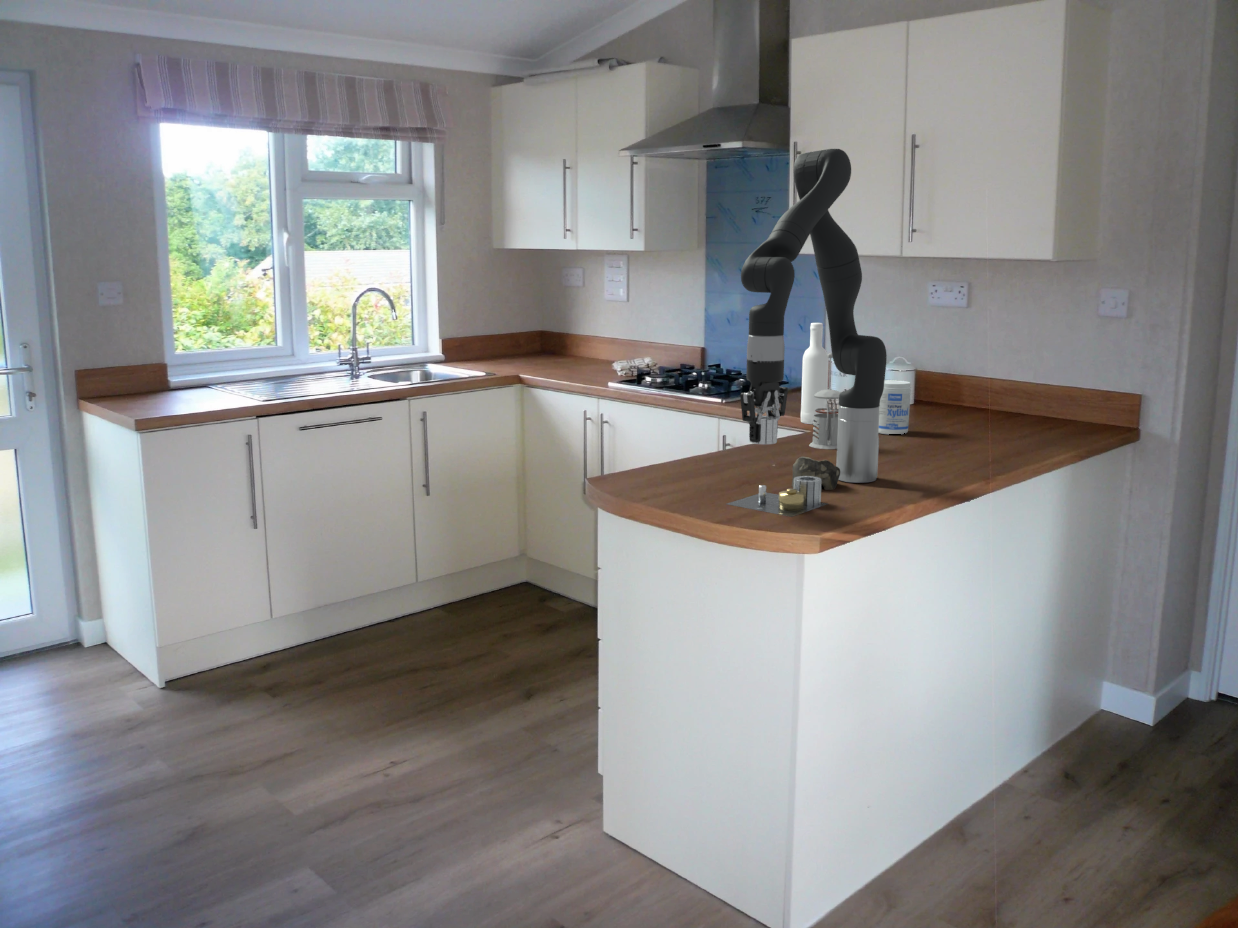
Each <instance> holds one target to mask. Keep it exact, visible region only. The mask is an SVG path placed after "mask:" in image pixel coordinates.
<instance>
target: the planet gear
mask: <svg viewBox="0 0 1238 928" xmlns="http://www.w3.org/2000/svg"><path fill="white" fill-rule="evenodd" d="M755 416H756V417H757V415H755ZM777 423H778V424H779V420H778V418H777V417H774V416H767V415H762V419H761V422H760V424H761V439H760V442H757V443H756V442H751V441H750V440H749V443H751V444H755V445H774V444H777V442H778V432H777V430H778V429H777V428H778V427H777Z"/></svg>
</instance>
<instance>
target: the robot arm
mask: <svg viewBox="0 0 1238 928" xmlns="http://www.w3.org/2000/svg"><path fill="white" fill-rule="evenodd" d="M851 176H852V164H851V160H850V157H849V156H848V154H847V153H846V151H844V150H843V149H840V148H828V149H827V148H826V149H823V150H822V149H821V150H814V151H810V152H803V153H801V154H799V155H798V156H797V157H796V158H795V161H794V163H793V179H794V184H795V188H796V192H797V196H798V199H799V200H798V201H797V202H795V203H794V204H793V205H792V206H790V207H789V208H788V210H786V211H784V213H783V214H782V215H781V216H780V218H779V219H778V221H777V222H776V224H775V226H774V227H773V229H772V231H771V233H770V234H769V236H768V238H766V240H764V241H763V242H762V243H761V244H760V245H759V246H758V247H757V248H756V249H754V250H753V251H752V253H751V254H749V256H748V257H747V258H746V259H745V261H744V263H743V265H742V268H741V271H740V282H741V284H742V286H743V287H744V288H745V290H747V291H749V292H751V293H761V294H762V293H766V294H767V293H769V297H768V300H767V301H766V303H762V304H757V305H754V306H752V307H751V308H750V309H749V313H748V314H749V315H748V336H747V337H748V338H747V345H746V377H745V379H746V380H747V381H748V382H750V387H749V390H748V391H747V392H741V393H740V395H739V396H740V406H741V418H742V421H743V422H747V423H748V424H749V431H748V432H749V433H748V436H749V442H750V441H751V442H756V443H757V442H760V439H761V424H760V422H761V419H762V416H764V414H765V416H774V417H777V418H778V421H779V420H780V419H781V417H784V416H785V414H786V407H787V401H788V393H789V388H788V387H787V386H780V383H781V382H782V381H784V379H785V378H784V377H785V376H784V375H785V351H786V350H785V347H786V346H785V316H786V315H785V314H786V311H787V307H788V302H789V299H790V295H791V292H792V289H793V286H794V282H795V273H796V272H795V268H794V265H793V263H792V262H793V261H795V260H796V259H797V257H798V256H799V254H800V253H801V251H802V249H803V247H804V246H805V244H806V242H807V240H808V238H809V236H810V241H811V245H812V247H813V253H814V258H815V264H816V269H817V274H818V279H819V282H820V283H819V284H820V287H821V290H822V294H823V299H824V300H823V301H824V305H825V311H826V315H827V321H828V322H827V323H828V329H829V330H828V331H829V339H830V340H829V341H830V348H831V353H832V357H833V358H832V360H833V364H834V365H835V366H834V367H836V369H837V370H838V371H839V372H840V373H842V374H844V375H849V376H854V383H853V385H852V387H851V388H849V389H846V390H843V391H840V392H841V393H840V395H839V399H838V407H837V409H838V413H837V414H838V435H837V449H836V460H835V461H836V462H835V463H836V464H835V466H836V467H838V468H839V469H840V476H839V479H838V481H841V482H846V483H857V484H858V483H860V484H861V483H862V484H863V483H864V484H865V483H871V482H875V481H876V480H877V477H878V470H879V469H878V468H879V467H878V465H879V449H880V447H879V446H880V439H879V433H878V432H879V408H880V399H881V396H882V394H883V390H884V381H885V380H886V379H885V378H886V370H887V357H888V355H887V349H886V346H885V343H884V341H883V340H882V339H881V338H880V337H877V336H874V335H873V336H872V335H863V334H858V331H857V327H856V323H855V314H854V309H855V304H856V301H857V298H858V295H859V293H860V290H861V286H862V283H863V273H862V268H861V262H860V257H859V253H858V248H857V246H856V245H855V243H854V242H853V240H852V239H851V238H850V237H849V236H848V234H847V233H846V232H845V231H844V230H843V229H842V227H841V226H840V225H839V224H838V223H837V222H836V221H835V219H834V218H833V216H832V214H831V213H830V211H829V209H830V208H831V207H832V205H833V204H834V203H835V202H836V201H837V199H839V197H840V196H841V195H842V194H843V192H844V191H845V189H847V187H848V184H849V182H851V181H850V180H851ZM748 412H749V413H748ZM756 416H757V417H756ZM778 425H779V422H778V423H777V433H779V432H778V428H779V427H778ZM751 442H750V443H751Z"/></svg>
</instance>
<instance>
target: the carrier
mask: <svg viewBox="0 0 1238 928" xmlns="http://www.w3.org/2000/svg"><path fill="white" fill-rule="evenodd" d="M726 505H727V506H728V505H729V506H733V507H738V508H743V509H744V508H745V509H749V510H754V511H758V512H759V511H760V512H765V513H768V514H769V513H770V514H775V515H780V516H786V517H791V518H793V517H795V516H798V515H801V514H803V513H806V512H810V511H812V510H815V509H818V508H821V507H824V506H827V505H829V503H827V502H822V501H821V503H820V504H818V505H813V506H807V505H806V506H805V505H804V493H803V492H799V491H797V490H796V489H793V487H791V488H786V490H782V491H779V492H778V494H777V493H773V492H772V493H771V492H767V485H765V484H760V485H758V493H756V494H753V495H750V496H747V497H744V498H740V499H736V500H734V501H730V502H728V503H726Z"/></svg>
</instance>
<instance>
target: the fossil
mask: <svg viewBox="0 0 1238 928" xmlns="http://www.w3.org/2000/svg"><path fill="white" fill-rule="evenodd" d="M799 476H814V477H818V478H821V486H823V490H824V491H827V490H828V491H829V490H830V491H831V490H835V489H836V488H837V486H838V482H839V480H838V479H839V476H840V469H839V468H838V467H836V465H835V464H833V462H831V461H830V460H828V459H822V460H817V459H812V458H811V457H808V456H800V457H798V458H796V459H795V462H794V463H793V464H792V479H791V488H792V489H793V488H794V478H795V477H799Z"/></svg>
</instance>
